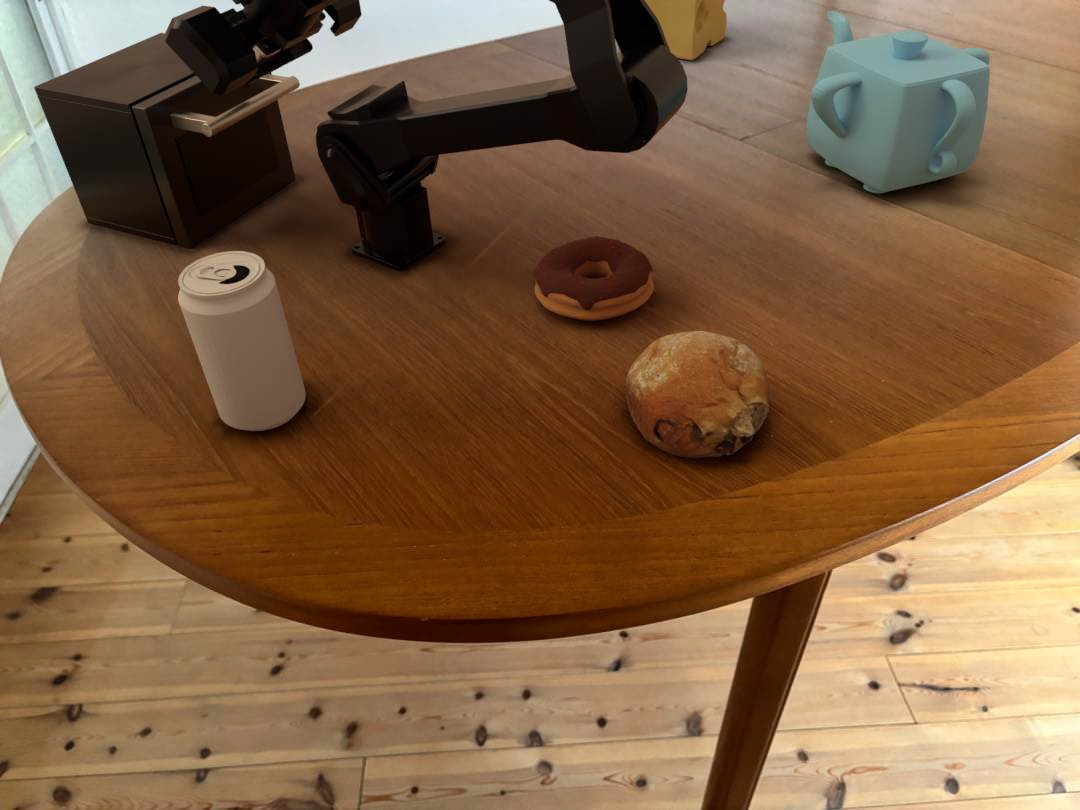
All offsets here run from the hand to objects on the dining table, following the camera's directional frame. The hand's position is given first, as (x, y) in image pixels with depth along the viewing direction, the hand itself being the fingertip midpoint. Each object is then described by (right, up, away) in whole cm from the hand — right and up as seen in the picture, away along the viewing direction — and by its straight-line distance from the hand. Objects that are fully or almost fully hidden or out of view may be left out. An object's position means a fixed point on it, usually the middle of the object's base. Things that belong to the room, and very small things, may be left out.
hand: (234, 83), depth 83 cm
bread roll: (+39, -30, -18) cm, 52 cm away
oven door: (-1, -10, +9) cm, 14 cm away
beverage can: (+7, -30, -15) cm, 34 cm away
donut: (+32, -20, -5) cm, 38 cm away
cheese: (+46, +20, +43) cm, 66 cm away
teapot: (+62, -4, +13) cm, 64 cm away
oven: (-9, -8, +13) cm, 17 cm away
